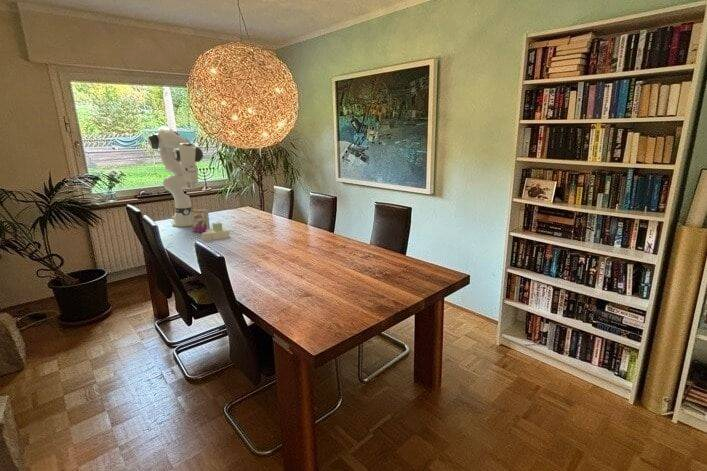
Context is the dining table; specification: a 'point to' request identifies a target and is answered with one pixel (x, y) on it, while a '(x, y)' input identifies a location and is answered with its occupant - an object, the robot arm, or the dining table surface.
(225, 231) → the base block
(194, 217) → the candy bar box
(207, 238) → the beige cube
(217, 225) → the green cube
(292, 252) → the dining table surface
